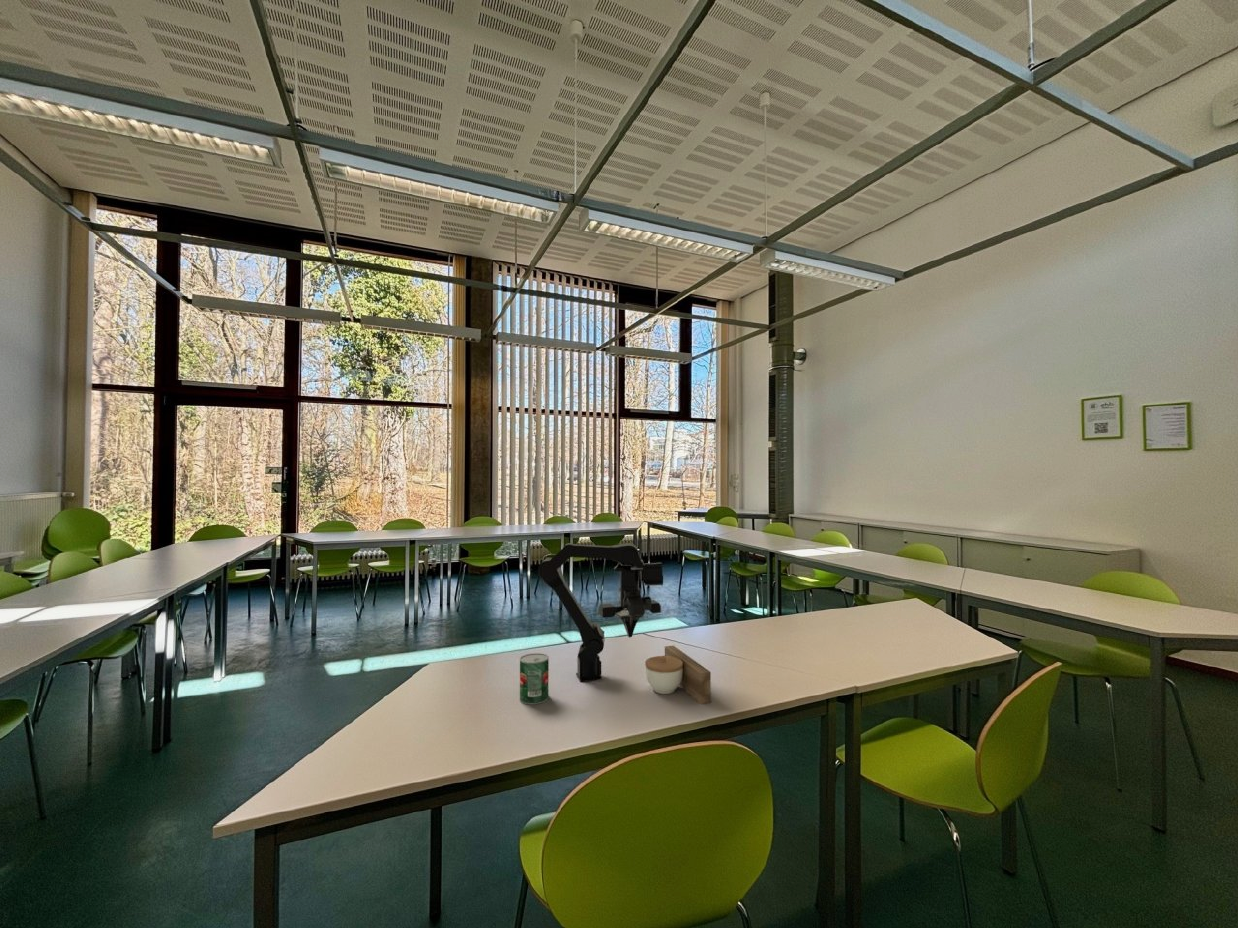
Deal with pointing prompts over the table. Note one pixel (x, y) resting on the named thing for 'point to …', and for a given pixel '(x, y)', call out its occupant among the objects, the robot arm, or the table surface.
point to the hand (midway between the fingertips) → (629, 637)
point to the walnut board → (693, 676)
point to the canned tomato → (534, 678)
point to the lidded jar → (664, 673)
